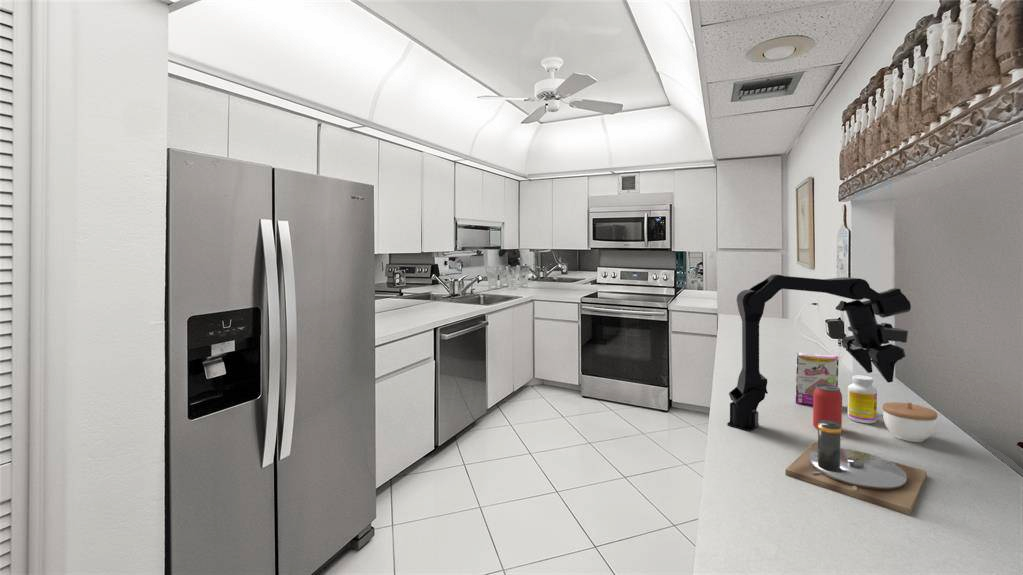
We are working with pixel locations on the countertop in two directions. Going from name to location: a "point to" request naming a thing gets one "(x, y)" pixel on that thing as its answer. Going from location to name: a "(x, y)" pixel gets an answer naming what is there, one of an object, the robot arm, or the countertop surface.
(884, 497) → the base plate
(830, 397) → the beer can
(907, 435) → the lidded jar
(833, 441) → the dial
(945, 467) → the countertop surface
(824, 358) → the candy bar box
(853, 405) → the supplement bottle
